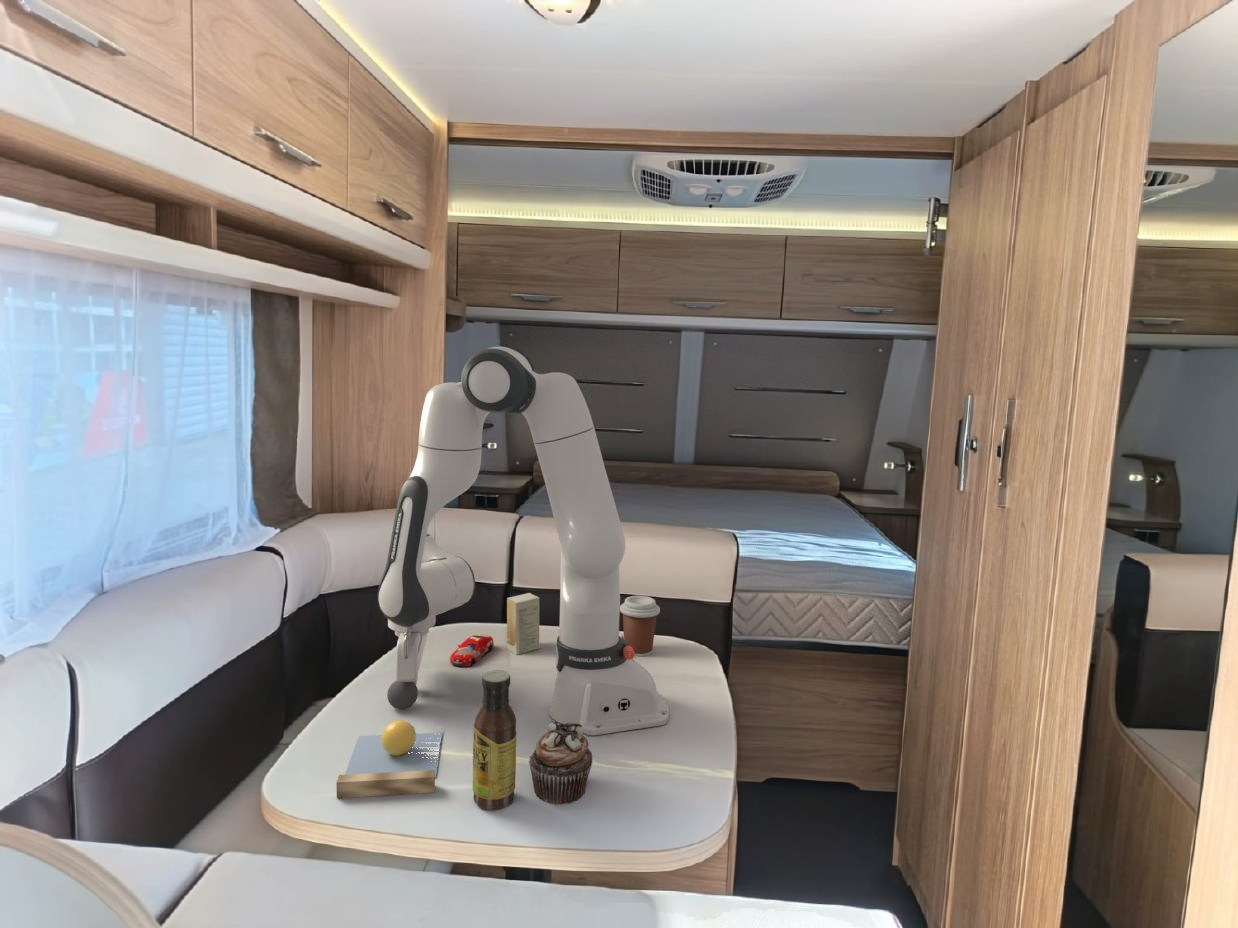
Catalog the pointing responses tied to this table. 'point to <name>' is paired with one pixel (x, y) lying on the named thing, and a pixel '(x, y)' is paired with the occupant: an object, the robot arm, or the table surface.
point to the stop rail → (385, 783)
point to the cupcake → (561, 764)
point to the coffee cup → (639, 623)
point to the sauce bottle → (494, 744)
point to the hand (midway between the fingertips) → (412, 684)
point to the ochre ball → (398, 737)
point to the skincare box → (522, 623)
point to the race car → (472, 650)
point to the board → (392, 756)
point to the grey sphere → (402, 694)
